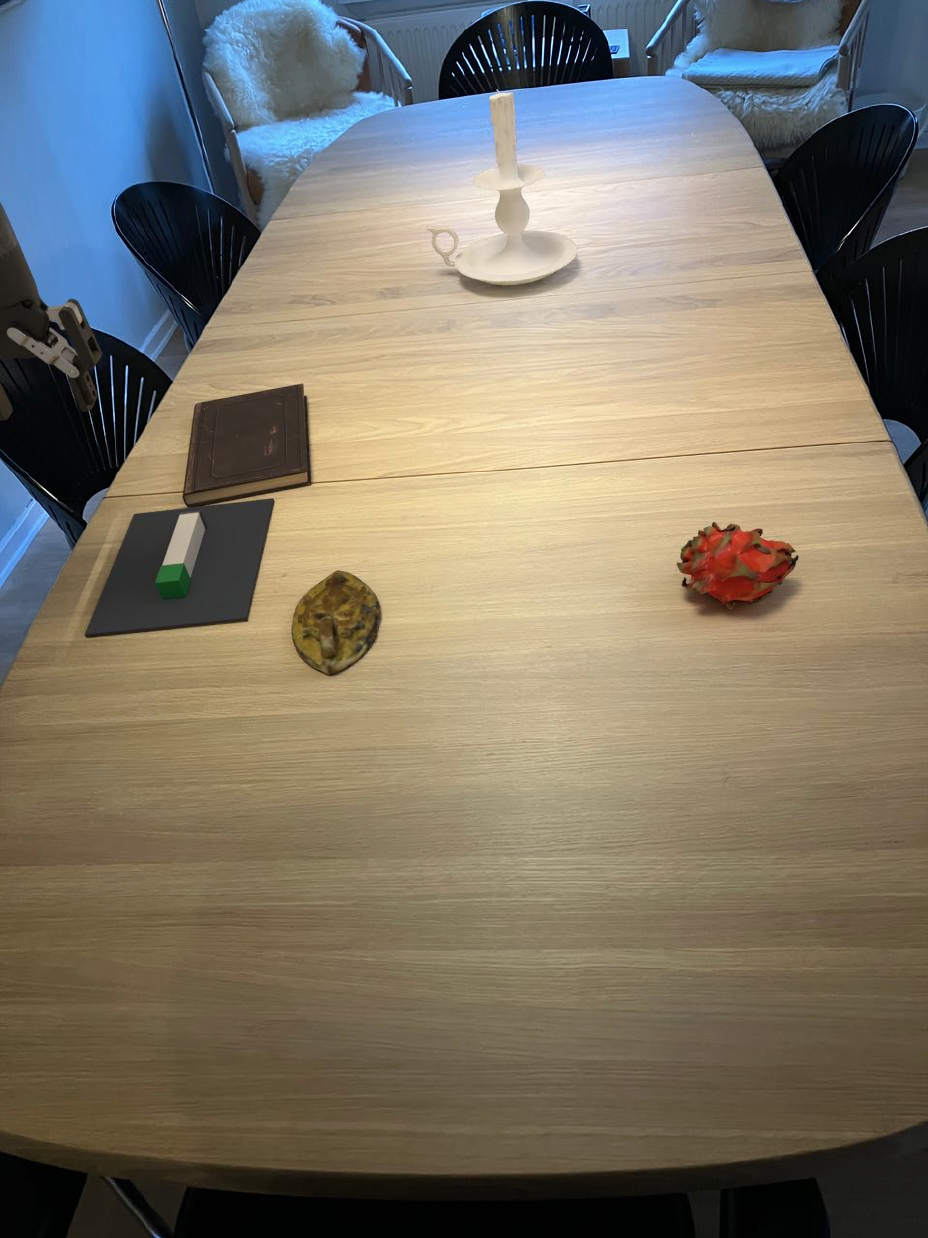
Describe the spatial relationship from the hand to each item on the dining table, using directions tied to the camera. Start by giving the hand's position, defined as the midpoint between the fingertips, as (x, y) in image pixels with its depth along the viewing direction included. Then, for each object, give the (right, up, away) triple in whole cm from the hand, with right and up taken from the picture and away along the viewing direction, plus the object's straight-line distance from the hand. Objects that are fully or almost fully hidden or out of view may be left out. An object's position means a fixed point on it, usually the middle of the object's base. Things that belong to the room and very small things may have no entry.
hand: (47, 411), depth 91 cm
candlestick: (+48, +38, +66) cm, 90 cm away
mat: (+9, -14, +16) cm, 23 cm away
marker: (+9, -14, +16) cm, 23 cm away
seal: (+28, -21, +6) cm, 36 cm away
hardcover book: (+12, +2, +34) cm, 36 cm away
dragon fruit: (+69, -18, +2) cm, 71 cm away
